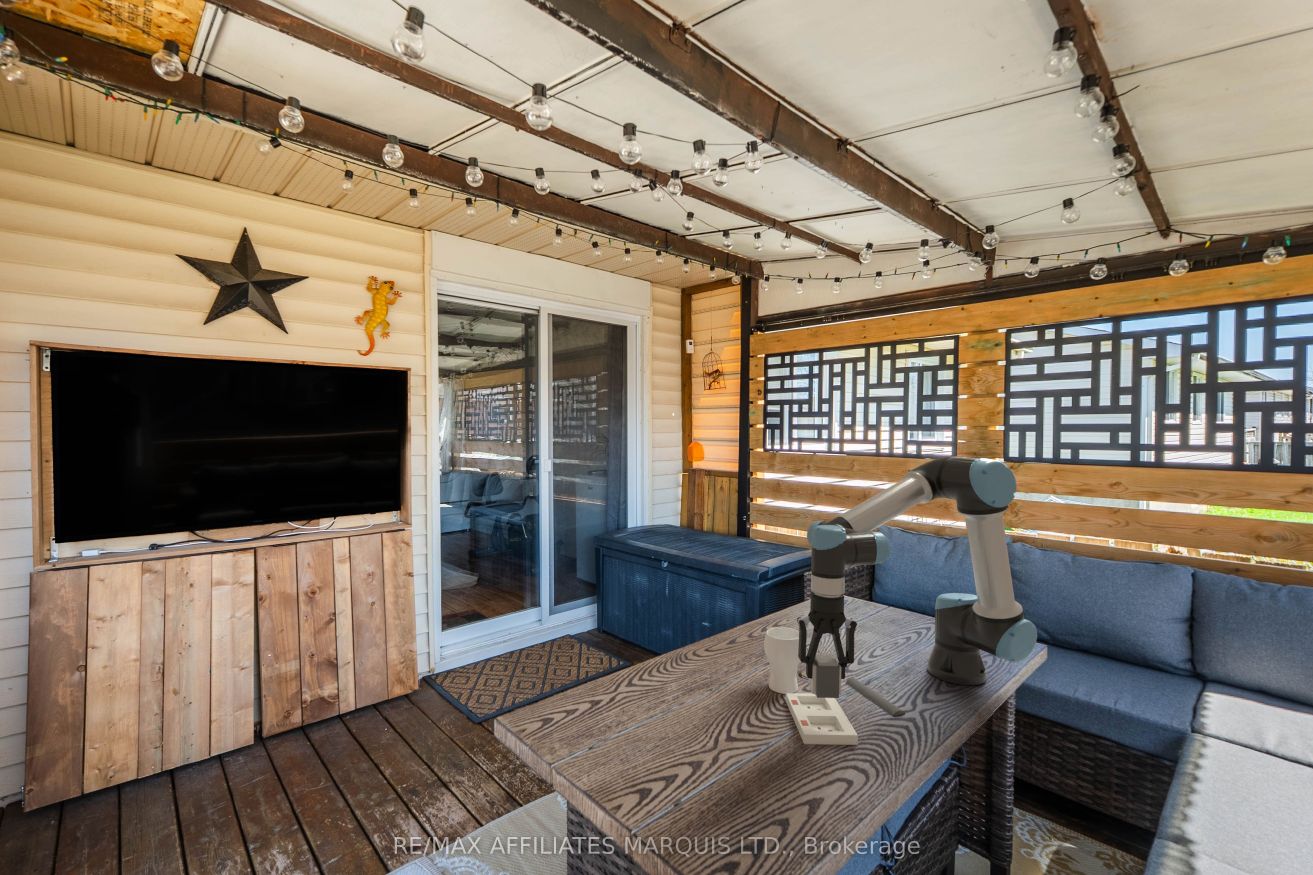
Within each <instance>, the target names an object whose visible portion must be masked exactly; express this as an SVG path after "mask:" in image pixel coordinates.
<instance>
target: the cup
mask: <svg viewBox="0 0 1313 875" xmlns="http://www.w3.org/2000/svg"><path fill="white" fill-rule="evenodd" d="M798 647H799V630H797V629H795V628H791V627H784V626H778V627H771V628H768V629H767V630H766V632H765V636H764V641H763V649H764V653H765V656H766V659H767V662H768V664H769V667H770V676H769V682H768V687H769V689H770V690H771V691H774V692H776V693H779V694H784V695H786V693H797V691H798V689H799V687H798V678H797V672H798V667H799V665H800V663H802V662H801V661H800V659H799V657H798Z"/></svg>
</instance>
